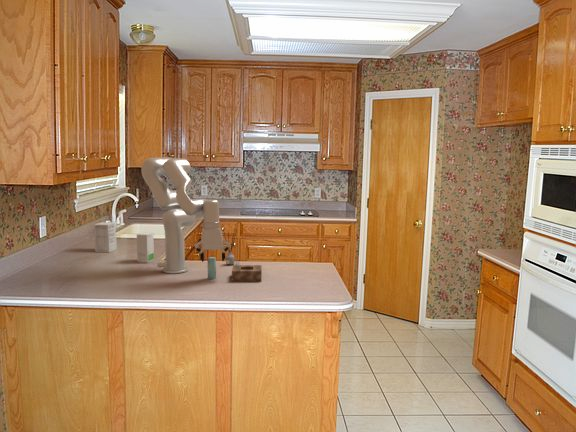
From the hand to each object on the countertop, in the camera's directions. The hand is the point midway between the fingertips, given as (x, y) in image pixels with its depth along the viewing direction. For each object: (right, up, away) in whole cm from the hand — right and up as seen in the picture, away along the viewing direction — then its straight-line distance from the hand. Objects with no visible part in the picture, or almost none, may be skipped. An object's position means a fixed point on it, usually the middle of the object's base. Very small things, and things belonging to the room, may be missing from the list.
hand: (213, 260), depth 245 cm
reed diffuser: (+6, -5, +31) cm, 32 cm away
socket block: (+16, -9, +3) cm, 19 cm away
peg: (-1, -9, +2) cm, 9 cm away
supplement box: (-74, 0, +63) cm, 97 cm away
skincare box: (-43, -4, +36) cm, 56 cm away
